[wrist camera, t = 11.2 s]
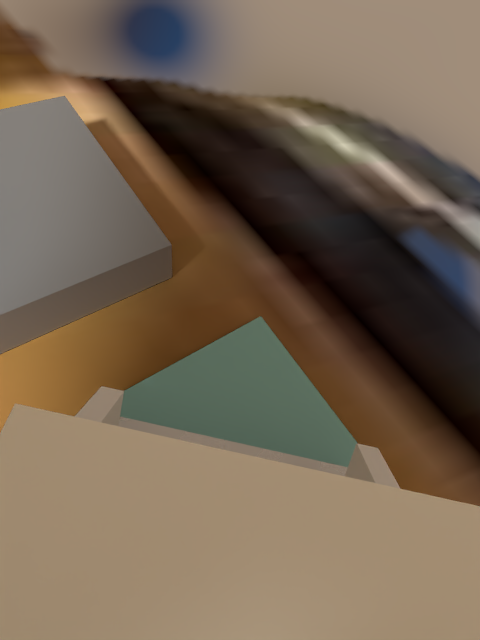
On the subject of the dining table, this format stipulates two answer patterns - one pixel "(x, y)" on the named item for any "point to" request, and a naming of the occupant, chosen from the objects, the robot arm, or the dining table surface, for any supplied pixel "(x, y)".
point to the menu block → (217, 544)
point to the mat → (244, 398)
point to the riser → (66, 225)
